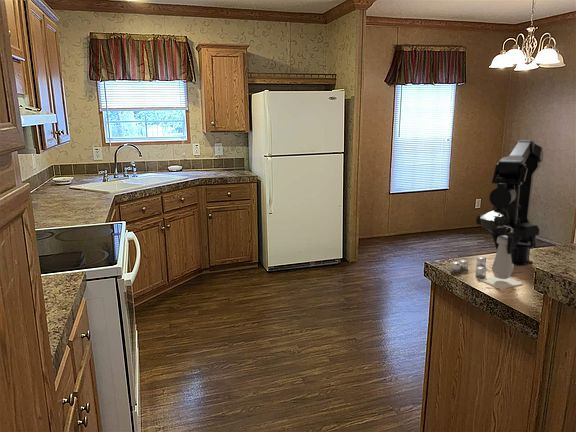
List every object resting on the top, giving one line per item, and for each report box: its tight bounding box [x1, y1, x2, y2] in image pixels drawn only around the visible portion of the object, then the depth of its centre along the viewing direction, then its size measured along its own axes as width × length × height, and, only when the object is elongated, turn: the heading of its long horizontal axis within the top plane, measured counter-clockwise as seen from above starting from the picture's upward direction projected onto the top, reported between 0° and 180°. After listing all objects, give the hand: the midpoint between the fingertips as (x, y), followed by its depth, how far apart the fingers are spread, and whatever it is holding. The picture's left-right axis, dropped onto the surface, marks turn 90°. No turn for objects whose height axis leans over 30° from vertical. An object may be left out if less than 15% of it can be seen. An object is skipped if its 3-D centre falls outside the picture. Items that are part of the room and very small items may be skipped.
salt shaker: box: [491, 234, 514, 279], centre depth 139 cm, size 6×6×13 cm
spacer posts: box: [450, 256, 515, 279], centre depth 150 cm, size 18×11×3 cm, turn 112°
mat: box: [479, 276, 524, 290], centre depth 141 cm, size 9×8×1 cm
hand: (503, 251), depth 139 cm, fingers closed on salt shaker, 4 cm apart
